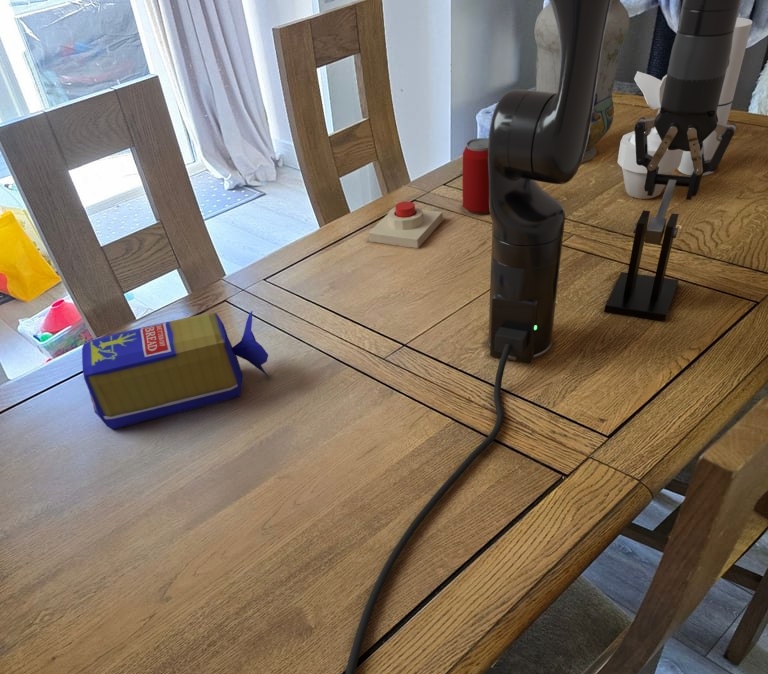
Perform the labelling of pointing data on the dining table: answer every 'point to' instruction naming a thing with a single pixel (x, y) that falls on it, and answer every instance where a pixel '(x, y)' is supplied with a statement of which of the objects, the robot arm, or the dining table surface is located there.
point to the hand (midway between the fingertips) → (670, 195)
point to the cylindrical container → (723, 93)
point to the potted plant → (627, 151)
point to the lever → (663, 206)
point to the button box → (406, 228)
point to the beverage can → (476, 176)
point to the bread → (166, 368)
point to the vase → (608, 64)
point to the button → (405, 209)
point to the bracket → (645, 279)
